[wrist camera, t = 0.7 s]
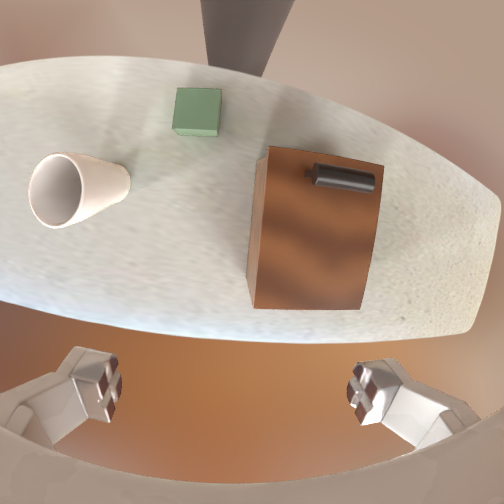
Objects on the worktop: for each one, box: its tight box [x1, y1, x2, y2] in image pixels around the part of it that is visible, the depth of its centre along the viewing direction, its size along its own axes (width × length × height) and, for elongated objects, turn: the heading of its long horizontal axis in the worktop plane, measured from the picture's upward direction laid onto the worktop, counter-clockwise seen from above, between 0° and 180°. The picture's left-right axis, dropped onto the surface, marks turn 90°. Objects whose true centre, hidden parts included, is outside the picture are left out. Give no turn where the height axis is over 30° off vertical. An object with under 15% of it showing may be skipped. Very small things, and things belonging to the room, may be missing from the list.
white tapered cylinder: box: [29, 152, 131, 228], centre depth 26 cm, size 7×7×15 cm
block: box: [172, 88, 222, 137], centre depth 30 cm, size 5×5×5 cm
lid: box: [253, 146, 384, 310], centre depth 26 cm, size 16×13×5 cm
